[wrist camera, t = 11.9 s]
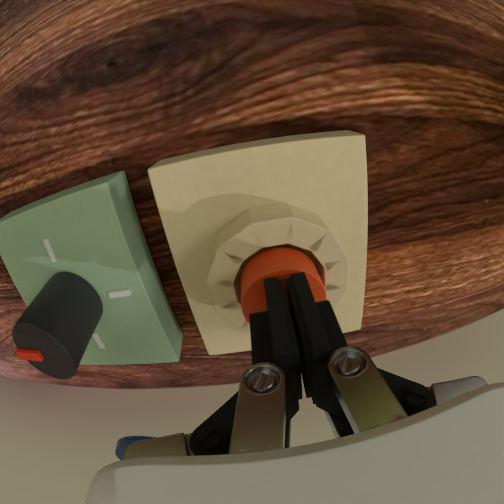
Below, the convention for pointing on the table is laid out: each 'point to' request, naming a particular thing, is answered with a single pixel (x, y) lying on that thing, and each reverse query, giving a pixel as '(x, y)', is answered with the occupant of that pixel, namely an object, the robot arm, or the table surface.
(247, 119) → the table surface
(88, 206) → the dial base
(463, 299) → the table surface
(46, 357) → the dial
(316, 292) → the stop button
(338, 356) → the robot arm
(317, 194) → the button base
